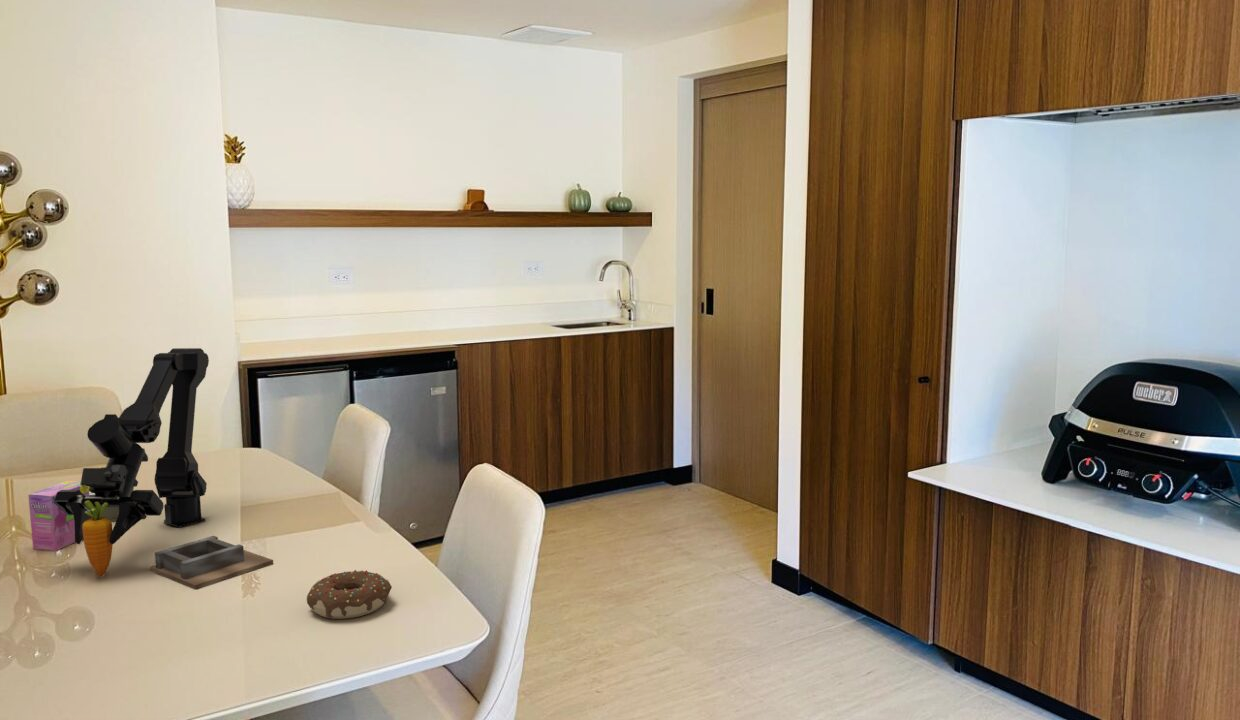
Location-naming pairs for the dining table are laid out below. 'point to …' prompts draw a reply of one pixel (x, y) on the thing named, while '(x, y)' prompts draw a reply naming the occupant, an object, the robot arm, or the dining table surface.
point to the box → (52, 518)
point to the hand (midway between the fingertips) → (94, 543)
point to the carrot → (97, 538)
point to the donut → (348, 594)
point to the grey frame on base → (206, 562)
